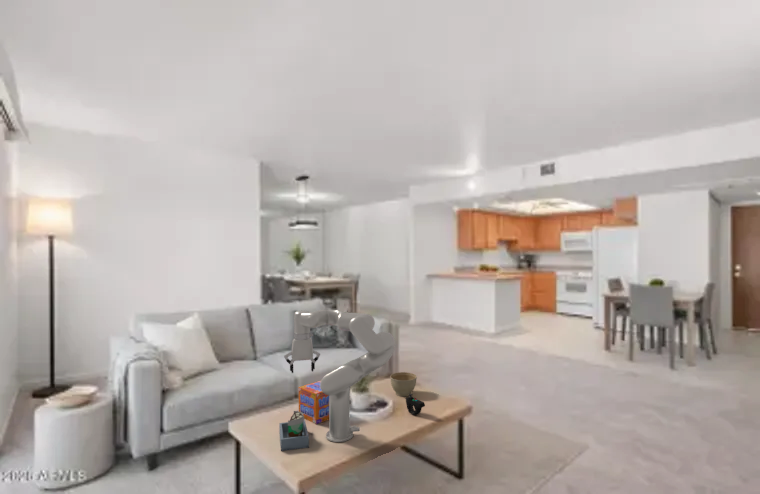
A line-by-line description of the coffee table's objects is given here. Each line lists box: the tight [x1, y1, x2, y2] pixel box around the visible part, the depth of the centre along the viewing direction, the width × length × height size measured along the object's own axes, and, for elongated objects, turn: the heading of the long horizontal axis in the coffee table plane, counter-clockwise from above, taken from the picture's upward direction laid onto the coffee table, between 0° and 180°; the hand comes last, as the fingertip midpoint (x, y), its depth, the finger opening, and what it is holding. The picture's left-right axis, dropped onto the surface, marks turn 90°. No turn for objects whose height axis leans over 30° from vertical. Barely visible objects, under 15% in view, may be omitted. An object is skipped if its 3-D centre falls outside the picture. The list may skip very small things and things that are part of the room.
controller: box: [404, 393, 426, 416], centre depth 220 cm, size 4×12×10 cm, turn 38°
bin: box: [278, 419, 310, 452], centre depth 191 cm, size 12×18×5 cm, turn 16°
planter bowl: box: [389, 371, 418, 397], centre depth 252 cm, size 16×16×11 cm
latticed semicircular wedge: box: [287, 410, 305, 438], centre depth 192 cm, size 12×6×10 cm, turn 179°
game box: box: [298, 380, 330, 425], centre depth 219 cm, size 16×16×16 cm
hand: (302, 371), depth 202 cm, fingers open, 9 cm apart
